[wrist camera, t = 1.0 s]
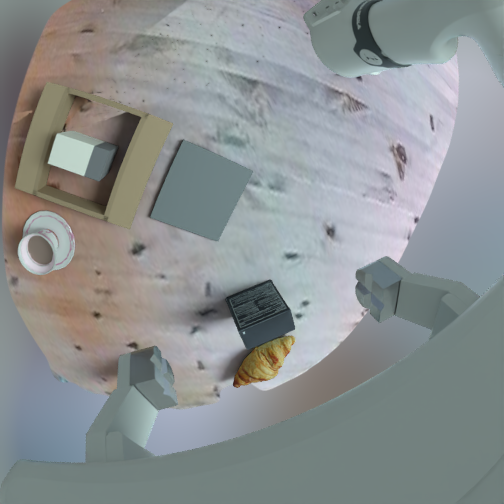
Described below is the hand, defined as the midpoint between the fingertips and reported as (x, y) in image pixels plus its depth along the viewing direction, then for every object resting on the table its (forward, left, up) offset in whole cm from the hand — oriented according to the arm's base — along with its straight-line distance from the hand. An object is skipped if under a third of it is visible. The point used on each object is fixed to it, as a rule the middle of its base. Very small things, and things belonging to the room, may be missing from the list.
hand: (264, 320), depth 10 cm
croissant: (+38, +37, -38) cm, 65 cm away
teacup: (+22, -20, -38) cm, 49 cm away
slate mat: (+4, +4, -38) cm, 38 cm away
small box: (+21, +24, -38) cm, 50 cm away
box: (+4, -16, -38) cm, 41 cm away
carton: (+4, -16, -38) cm, 41 cm away
